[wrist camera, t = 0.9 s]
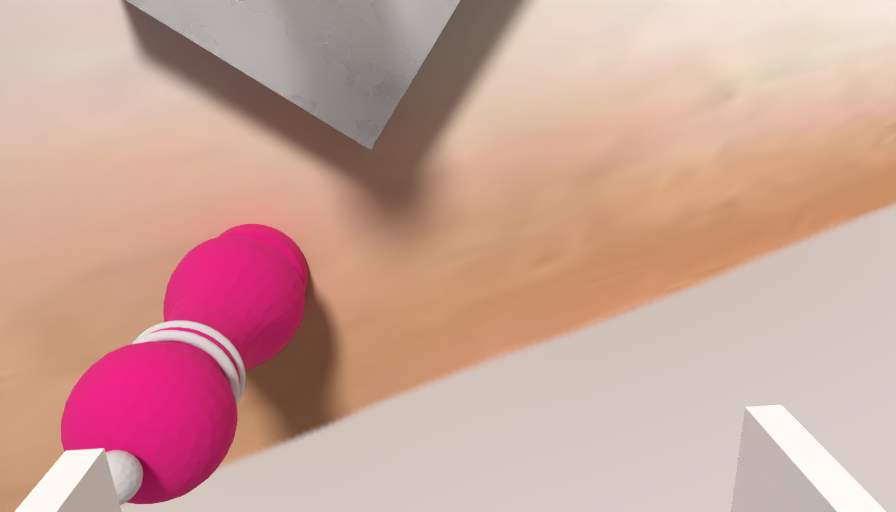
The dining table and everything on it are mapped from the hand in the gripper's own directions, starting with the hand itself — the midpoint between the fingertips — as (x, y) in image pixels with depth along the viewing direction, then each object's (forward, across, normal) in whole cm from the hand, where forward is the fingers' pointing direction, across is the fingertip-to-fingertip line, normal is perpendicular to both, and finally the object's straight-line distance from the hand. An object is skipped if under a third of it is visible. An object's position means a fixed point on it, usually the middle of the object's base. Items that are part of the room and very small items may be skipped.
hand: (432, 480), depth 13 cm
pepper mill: (+26, -10, -5) cm, 28 cm away
